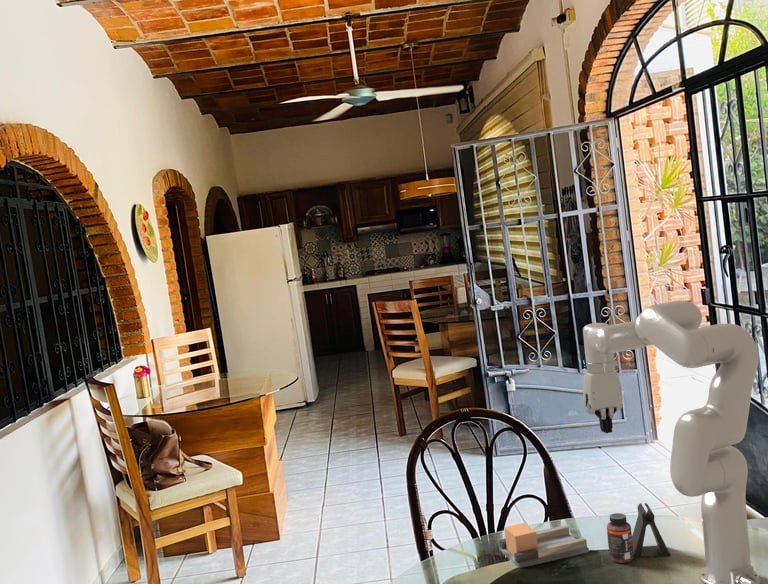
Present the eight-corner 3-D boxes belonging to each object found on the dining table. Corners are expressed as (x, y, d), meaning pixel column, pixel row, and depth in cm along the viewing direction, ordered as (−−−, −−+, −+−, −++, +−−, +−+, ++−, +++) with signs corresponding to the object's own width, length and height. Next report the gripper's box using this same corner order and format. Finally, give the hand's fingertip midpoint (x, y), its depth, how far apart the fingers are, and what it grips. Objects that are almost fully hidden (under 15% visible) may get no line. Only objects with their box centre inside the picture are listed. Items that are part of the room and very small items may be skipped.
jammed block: (538, 553, 194) (536, 531, 193) (517, 558, 192) (515, 536, 192) (527, 544, 200) (524, 522, 200) (506, 548, 199) (504, 527, 199)
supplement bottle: (635, 563, 184) (631, 519, 184) (610, 564, 185) (606, 520, 185) (632, 553, 190) (628, 510, 189) (608, 554, 191) (604, 511, 191)
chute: (589, 551, 194) (588, 540, 194) (519, 568, 189) (518, 556, 189) (565, 534, 206) (564, 524, 206) (499, 549, 202) (498, 538, 202)
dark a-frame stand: (633, 558, 187) (629, 512, 187) (629, 548, 193) (625, 503, 193) (670, 556, 186) (666, 510, 185) (665, 546, 192) (660, 501, 191)
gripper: (616, 361, 211) (622, 424, 212) (569, 369, 208) (576, 433, 209) (631, 365, 204) (637, 430, 205) (583, 373, 200) (589, 439, 201)
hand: (606, 431), depth 207 cm, fingers closed
